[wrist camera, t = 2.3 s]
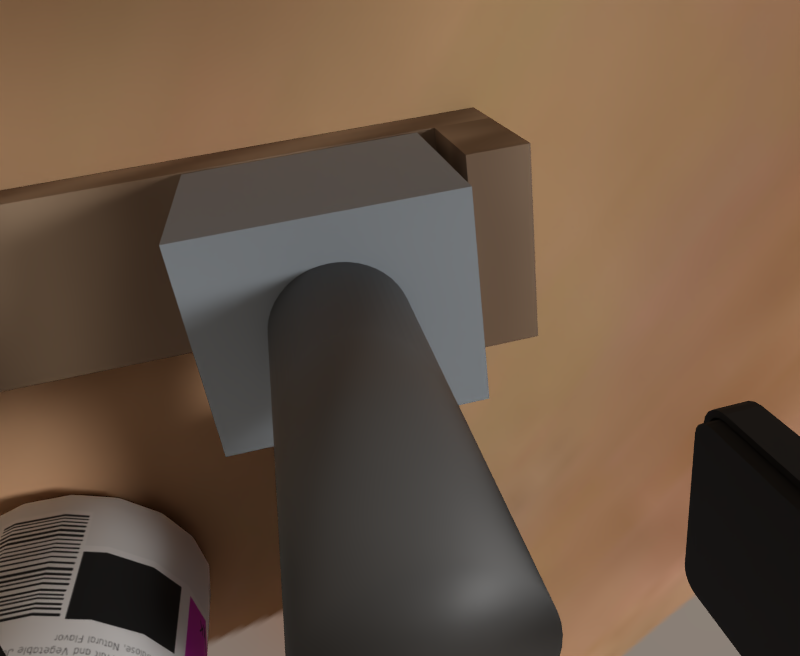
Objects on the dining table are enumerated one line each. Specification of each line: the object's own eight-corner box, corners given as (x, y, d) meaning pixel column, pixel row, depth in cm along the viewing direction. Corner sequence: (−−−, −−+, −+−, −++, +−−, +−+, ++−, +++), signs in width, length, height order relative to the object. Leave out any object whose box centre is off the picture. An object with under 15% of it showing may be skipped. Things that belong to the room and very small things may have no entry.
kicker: (406, 121, 19) (708, 420, 7) (465, 606, 28) (638, 1112, 16) (185, 160, 19) (57, 572, 6) (320, 643, 28) (380, 1200, 15)
